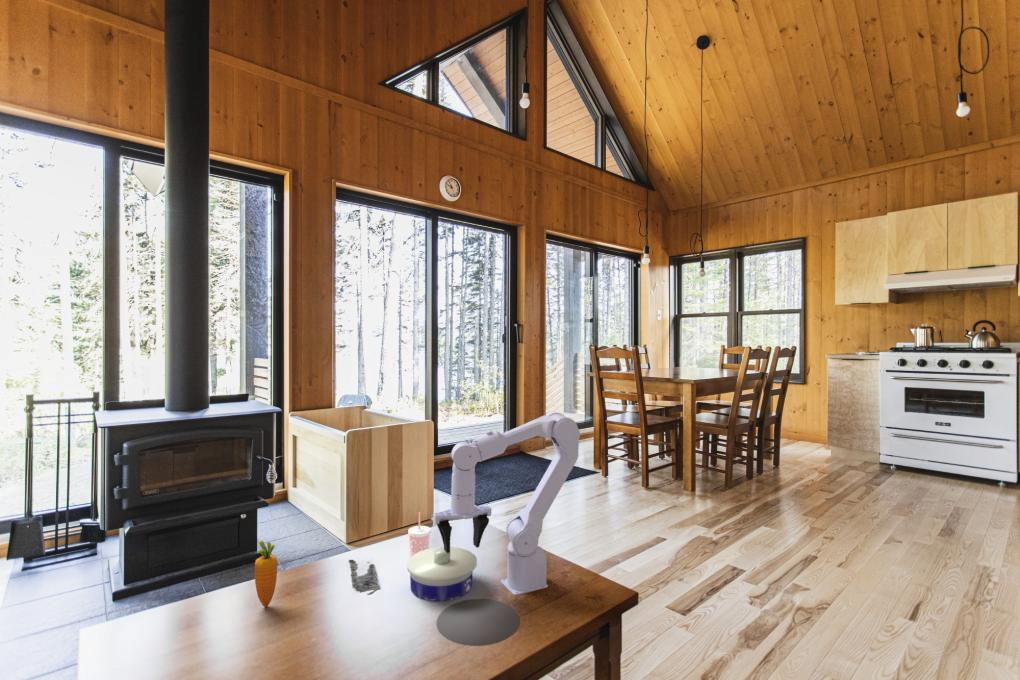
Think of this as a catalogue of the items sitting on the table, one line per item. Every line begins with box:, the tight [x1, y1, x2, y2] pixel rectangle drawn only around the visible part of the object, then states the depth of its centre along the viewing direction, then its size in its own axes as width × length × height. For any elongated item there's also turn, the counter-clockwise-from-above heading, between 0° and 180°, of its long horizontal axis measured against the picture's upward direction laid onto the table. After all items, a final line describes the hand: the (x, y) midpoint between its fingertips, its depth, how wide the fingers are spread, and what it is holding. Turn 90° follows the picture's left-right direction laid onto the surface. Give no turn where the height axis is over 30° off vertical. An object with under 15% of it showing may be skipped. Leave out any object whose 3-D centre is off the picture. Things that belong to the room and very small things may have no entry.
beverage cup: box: [407, 511, 432, 558], centre depth 138 cm, size 6×6×14 cm
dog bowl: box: [409, 570, 474, 603], centre depth 124 cm, size 15×15×6 cm
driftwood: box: [348, 559, 381, 596], centre depth 129 cm, size 21×7×2 cm, turn 20°
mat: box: [436, 598, 521, 647], centre depth 109 cm, size 18×18×1 cm
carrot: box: [254, 540, 278, 608], centre depth 115 cm, size 5×5×15 cm
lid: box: [406, 546, 478, 581], centre depth 124 cm, size 17×17×3 cm
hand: (461, 548), depth 122 cm, fingers open, 7 cm apart
